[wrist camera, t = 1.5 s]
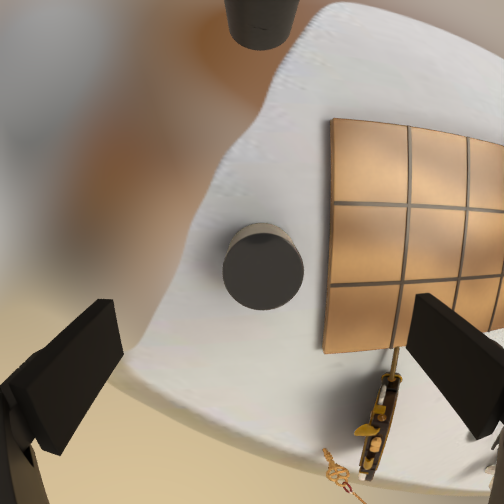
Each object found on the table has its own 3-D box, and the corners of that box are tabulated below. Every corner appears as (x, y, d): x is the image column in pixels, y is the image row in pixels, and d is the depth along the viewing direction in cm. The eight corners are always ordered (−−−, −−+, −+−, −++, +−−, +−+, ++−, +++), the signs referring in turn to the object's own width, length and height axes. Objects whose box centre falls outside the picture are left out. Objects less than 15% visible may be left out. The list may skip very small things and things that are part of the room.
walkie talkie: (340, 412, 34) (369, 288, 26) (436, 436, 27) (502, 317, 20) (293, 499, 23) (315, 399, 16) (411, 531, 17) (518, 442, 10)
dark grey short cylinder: (226, 223, 22) (220, 233, 19) (296, 222, 22) (305, 232, 19) (228, 289, 24) (224, 311, 20) (294, 287, 24) (302, 309, 20)
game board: (329, 119, 21) (333, 117, 19) (537, 157, 21) (544, 158, 19) (321, 348, 25) (324, 355, 24) (516, 320, 25) (522, 324, 24)
